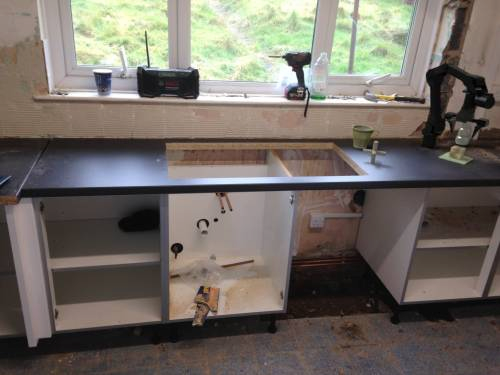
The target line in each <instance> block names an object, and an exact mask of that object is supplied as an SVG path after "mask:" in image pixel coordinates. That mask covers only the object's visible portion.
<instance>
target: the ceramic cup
mask: <svg viewBox="0 0 500 375" xmlns="http://www.w3.org/2000/svg"><path fill="white" fill-rule="evenodd" d="M375 132H377V134H376V135H375V136H373V137H372V135H373V134H374V133H375ZM379 135H380V132H379V130H377V129H374V127H372V126H369V125H366V124H355V125H353V126H352V137H353V139H352V141H353V148H355V149H360V150H363V149H368V144H369V142H371V140H373V139H374V138H376V137H377V136H379ZM371 137H372V138H371Z"/></svg>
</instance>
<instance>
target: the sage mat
mask: <svg viewBox="0 0 500 375" xmlns="http://www.w3.org/2000/svg"><path fill="white" fill-rule="evenodd" d="M449 155H450V151H448V152H446V153H444V154H442V155H439V156H438V159H443V160H445V161H450V162H453V163H457V164H461V165H463V166H465V165H466V164H467V163H469V162H471V161H473V160H474V158H472V157H469V156H465V155H464V157H463V158H462V159H461V160H457V159H453V158H449Z"/></svg>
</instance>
